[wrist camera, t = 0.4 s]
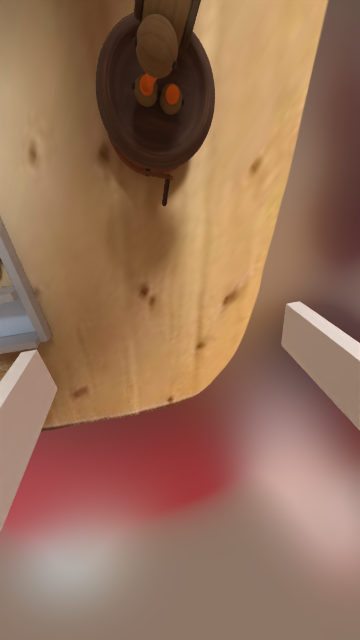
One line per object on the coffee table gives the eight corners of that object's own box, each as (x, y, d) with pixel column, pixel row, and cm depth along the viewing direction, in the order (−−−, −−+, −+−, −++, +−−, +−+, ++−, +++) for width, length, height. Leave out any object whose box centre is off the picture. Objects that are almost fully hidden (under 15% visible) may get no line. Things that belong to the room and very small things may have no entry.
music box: (94, 40, 25) (52, -278, 8) (193, 58, 28) (322, -156, 10) (109, 201, 32) (104, 214, 15) (187, 203, 35) (257, 216, 18)
